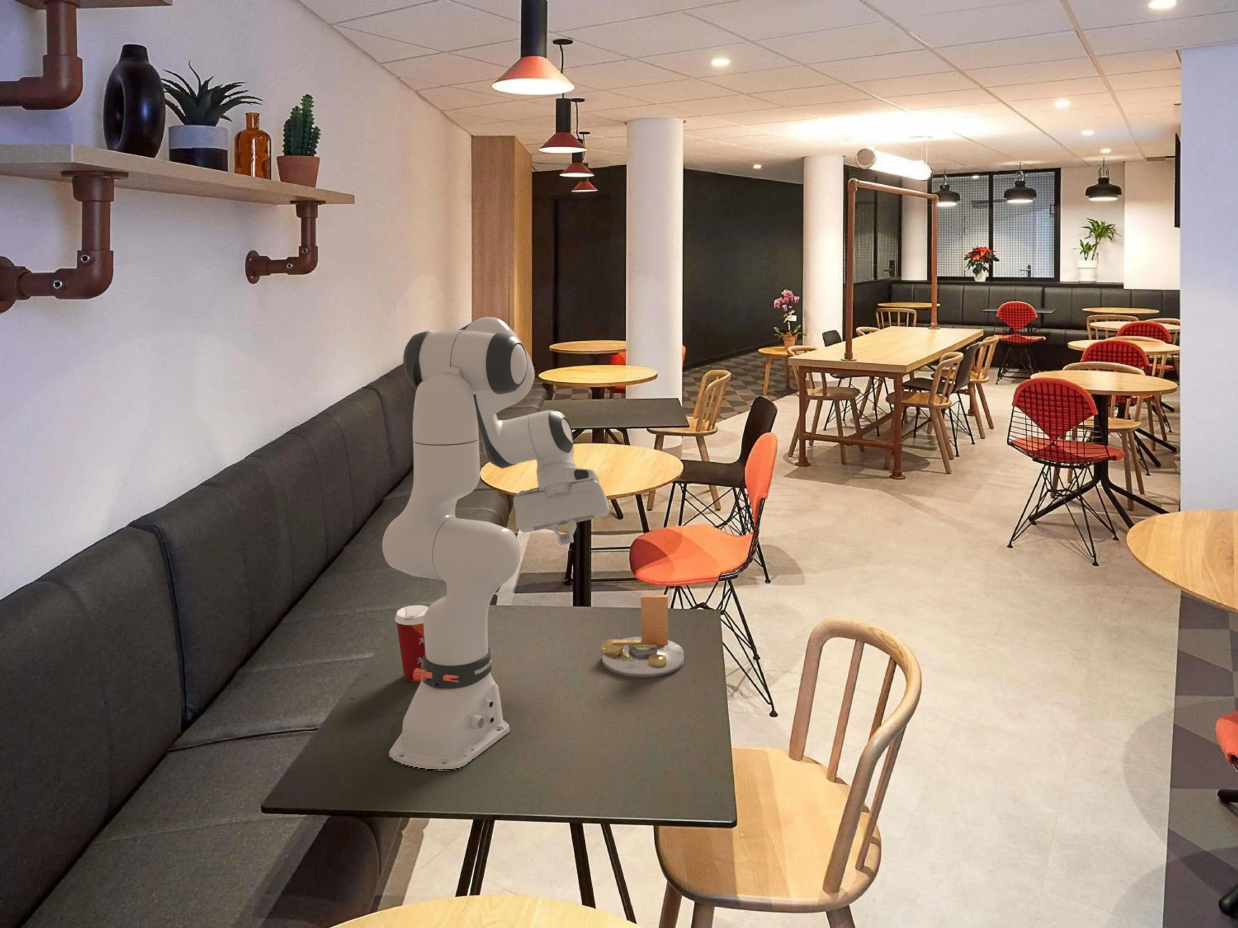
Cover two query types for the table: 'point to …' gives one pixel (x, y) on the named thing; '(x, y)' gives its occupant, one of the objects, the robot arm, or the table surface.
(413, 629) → the paper cup
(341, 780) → the table surface
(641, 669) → the levelling base
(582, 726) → the table surface
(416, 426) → the robot arm
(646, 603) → the vane knob
